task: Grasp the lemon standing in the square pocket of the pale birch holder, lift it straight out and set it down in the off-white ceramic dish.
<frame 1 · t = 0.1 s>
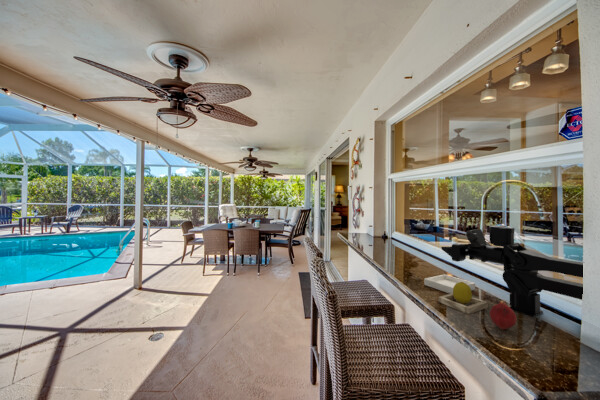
hand: (449, 246, 103), 17 cm above the worktop, tool horizontal, fingers open, 9 cm apart
pocket holder: (462, 304, 85), on the worktop
lemon: (462, 305, 85), resting in pocket holder
dish: (449, 287, 102), on the worktop
onion: (502, 330, 69), on the worktop
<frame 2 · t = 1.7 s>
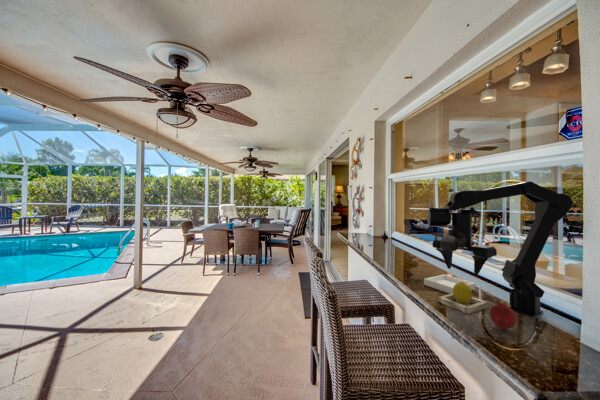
hand: (462, 271, 85), 11 cm above the worktop, tool pointing down, fingers open, 9 cm apart
nothing on the worktop moved.
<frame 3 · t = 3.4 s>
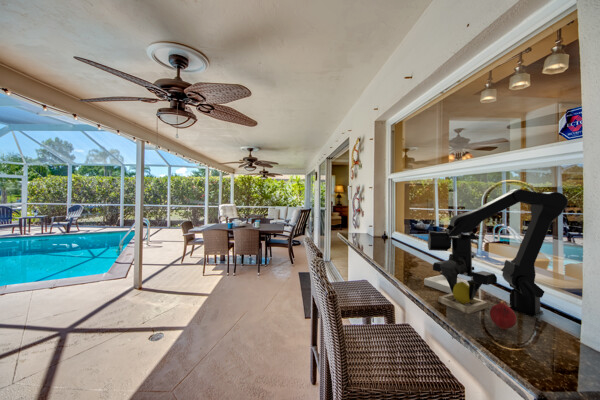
hand: (462, 296, 85), 3 cm above the worktop, tool pointing down, fingers closed on lemon, 6 cm apart
lemon: (462, 305, 85), resting in pocket holder, touching gripper
everything else where it was.
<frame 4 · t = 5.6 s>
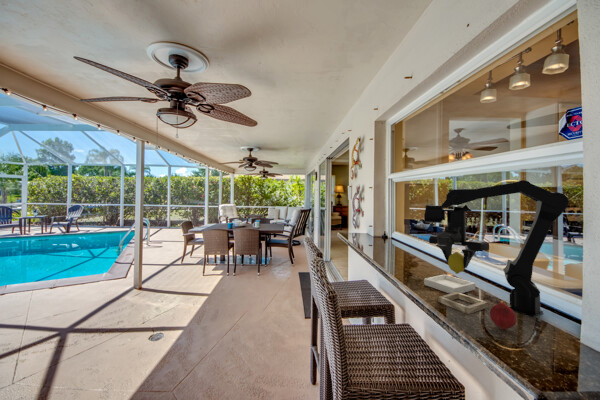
hand: (456, 265, 90), 12 cm above the worktop, tool pointing down, fingers closed on lemon, 6 cm apart
lemon: (457, 274, 90), point 9 cm above the worktop, touching gripper
everything else where it was.
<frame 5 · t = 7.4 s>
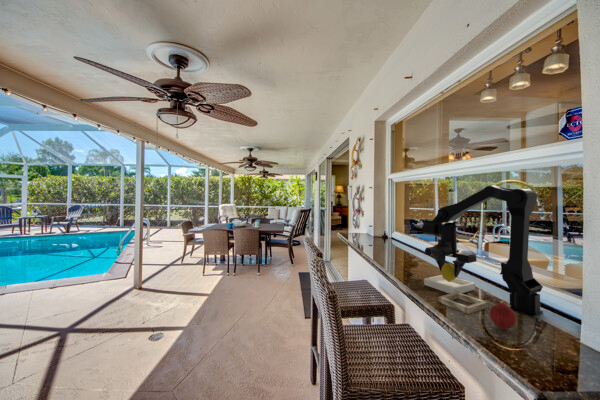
hand: (449, 274, 102), 5 cm above the worktop, tool pointing down, fingers closed on lemon, 6 cm apart
lemon: (449, 282, 102), point 2 cm above the worktop, touching gripper
everything else where it was.
when the fingers open (5 cm above the worktop, at t = 8.1 s): lemon drops 1 cm, resting on dish.
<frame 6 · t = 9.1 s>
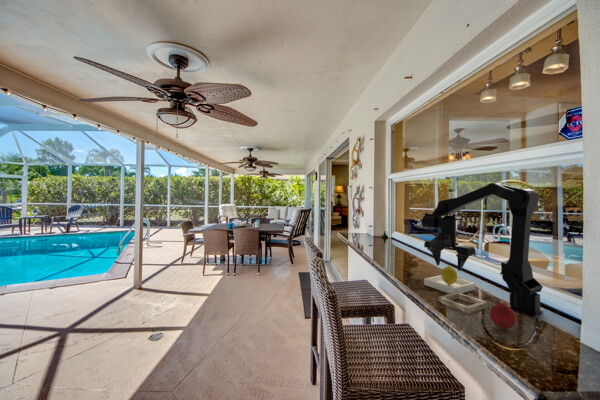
hand: (448, 267, 102), 8 cm above the worktop, tool pointing down, fingers open, 9 cm apart
lemon: (449, 285, 102), point 1 cm above the worktop, touching dish
everything else where it was.
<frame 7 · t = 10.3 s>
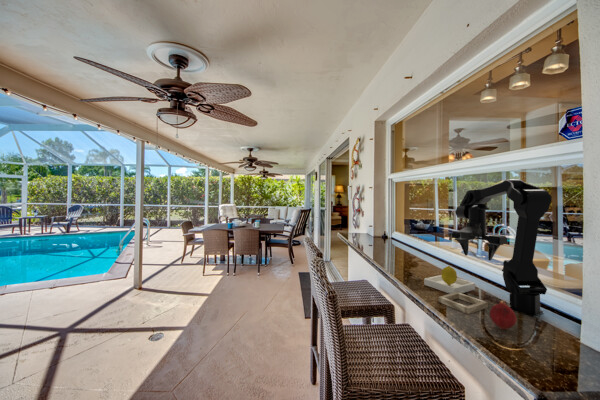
hand: (477, 257, 102), 12 cm above the worktop, tool pointing down, fingers open, 9 cm apart
nothing on the worktop moved.
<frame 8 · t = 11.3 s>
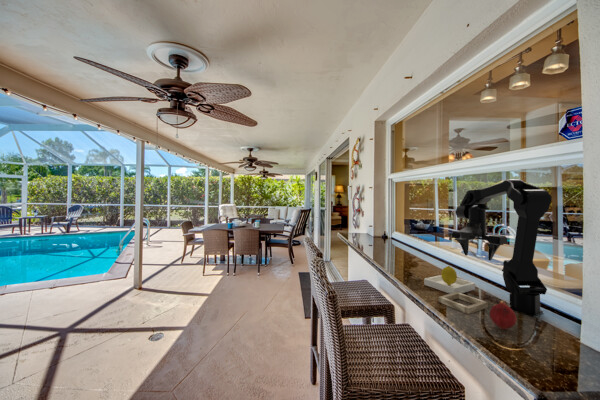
hand: (477, 257, 102), 12 cm above the worktop, tool pointing down, fingers open, 9 cm apart
nothing on the worktop moved.
at the end: lemon inside the target area on the dish (0.1 cm from its centre), point 0.6 cm above the dish's base; the gripper is holding nothing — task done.
